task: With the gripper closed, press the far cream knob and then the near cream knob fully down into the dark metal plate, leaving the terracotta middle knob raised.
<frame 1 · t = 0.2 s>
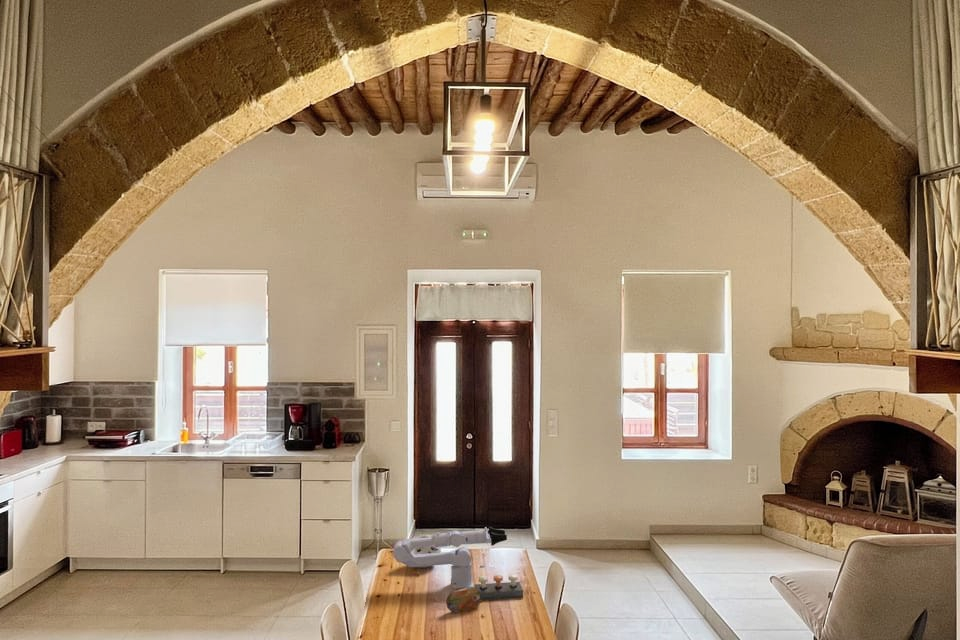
hand: (505, 535, 296), 21 cm above the table, tool horizontal, fingers open, 7 cm apart
middle knob: (498, 581, 282), point 5 cm above the table, slide at 0.0 cm
near knob: (483, 582, 281), point 5 cm above the table, slide at 0.0 cm
knob plate: (498, 594, 282), on the table
multicolored oval slab: (463, 610, 266), on the table
far knob: (513, 580, 283), point 5 cm above the table, slide at 0.0 cm
decorative object: (421, 567, 319), on the table
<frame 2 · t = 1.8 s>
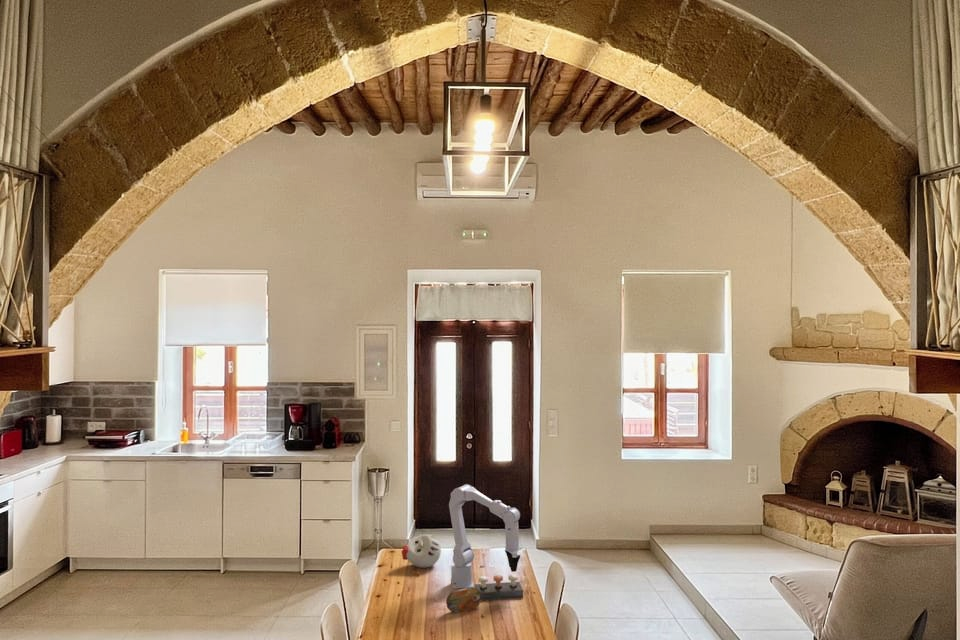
hand: (512, 569, 283), 10 cm above the table, tool pointing down, fingers open, 5 cm apart
nothing on the table moved.
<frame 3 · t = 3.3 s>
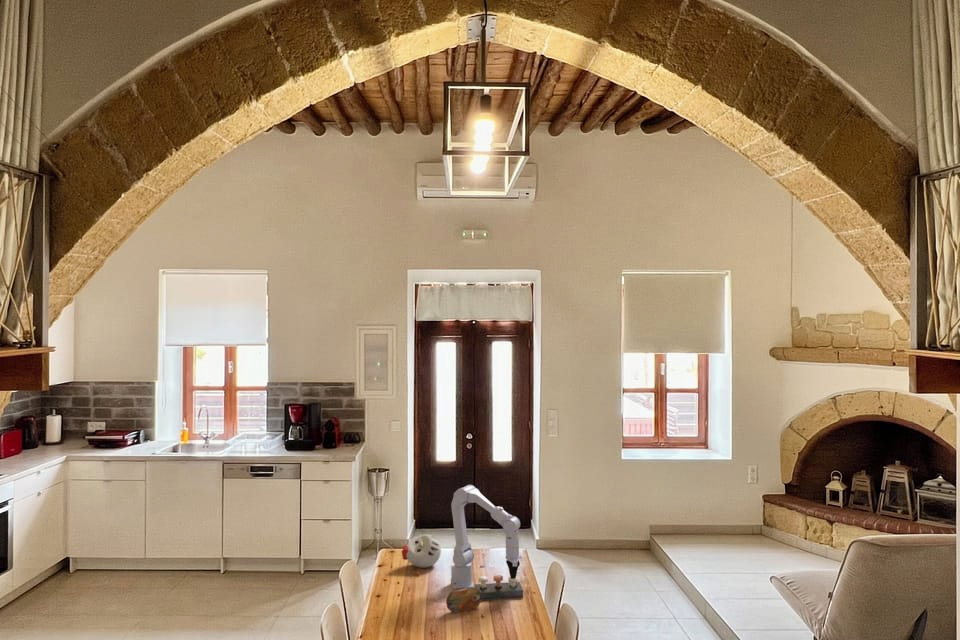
hand: (513, 577, 283), 7 cm above the table, tool pointing down, fingers closed, pressing on far knob
far knob: (513, 582, 283), point 5 cm above the table, slide at 0.8 cm, touching gripper
everything else where it was.
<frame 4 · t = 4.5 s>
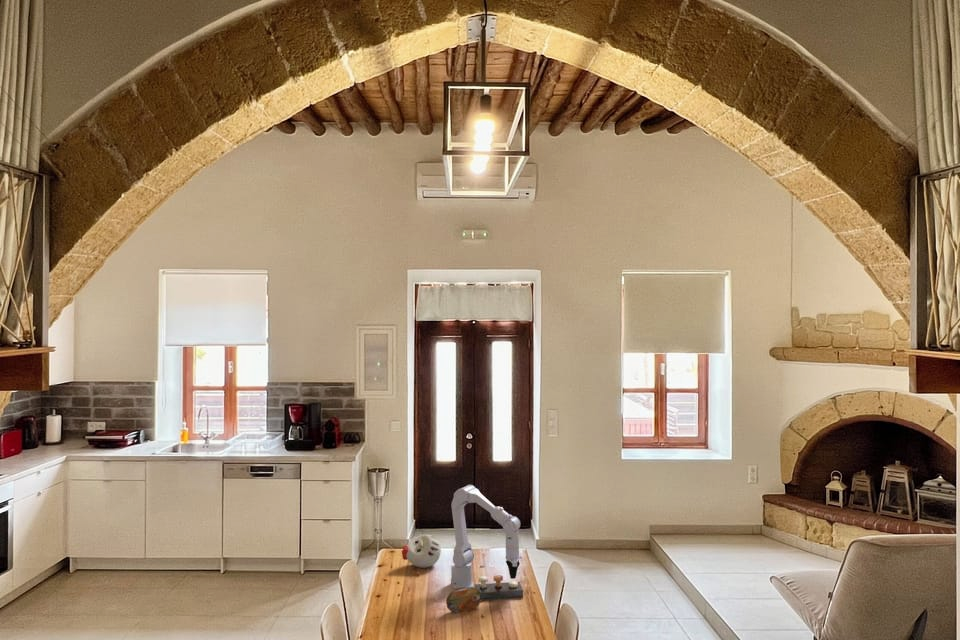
hand: (512, 578, 283), 7 cm above the table, tool pointing down, fingers closed
far knob: (513, 588, 283), point 2 cm above the table, slide at 3.0 cm
everything else where it was.
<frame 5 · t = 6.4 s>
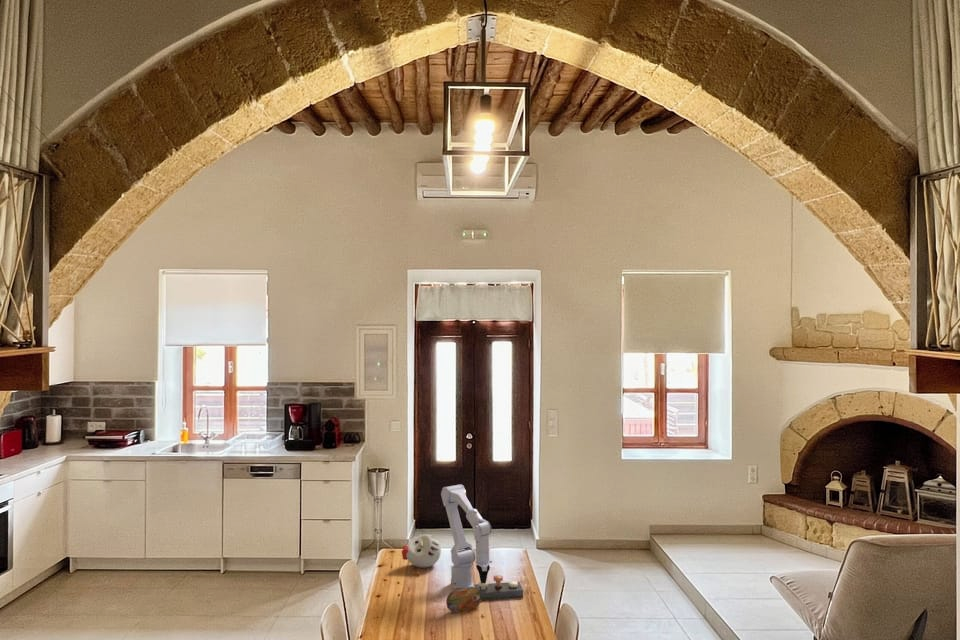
hand: (483, 582, 281), 5 cm above the table, tool pointing down, fingers closed, pressing on near knob
near knob: (483, 587, 281), point 3 cm above the table, slide at 2.0 cm, touching gripper
everything else where it was.
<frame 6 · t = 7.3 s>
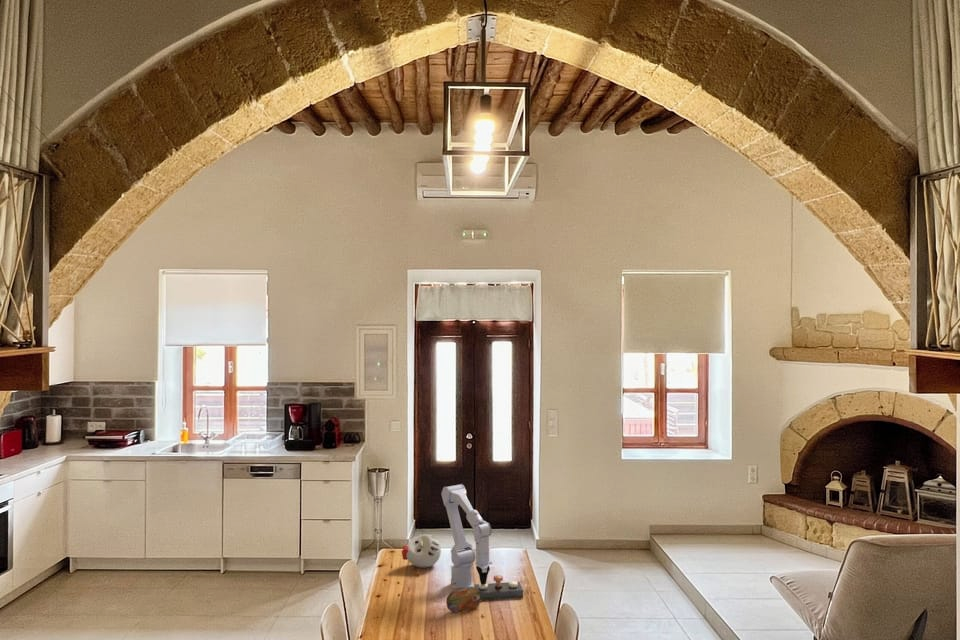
hand: (483, 583, 281), 5 cm above the table, tool pointing down, fingers closed
near knob: (483, 589, 281), point 2 cm above the table, slide at 3.0 cm
everything else where it was.
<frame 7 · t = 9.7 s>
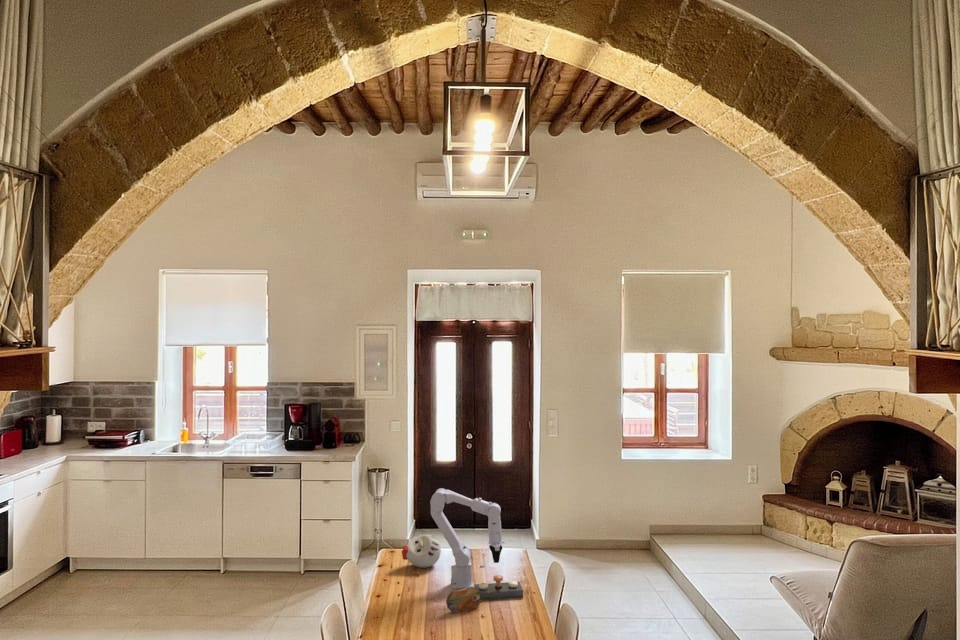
hand: (496, 562, 292), 10 cm above the table, tool pointing down, fingers closed
nothing on the table moved.
at the end: far knob slide at 3.0 cm; near knob slide at 3.0 cm; middle knob slide at 0.0 cm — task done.
